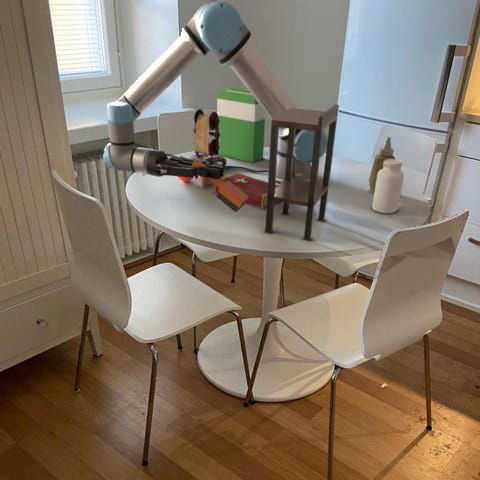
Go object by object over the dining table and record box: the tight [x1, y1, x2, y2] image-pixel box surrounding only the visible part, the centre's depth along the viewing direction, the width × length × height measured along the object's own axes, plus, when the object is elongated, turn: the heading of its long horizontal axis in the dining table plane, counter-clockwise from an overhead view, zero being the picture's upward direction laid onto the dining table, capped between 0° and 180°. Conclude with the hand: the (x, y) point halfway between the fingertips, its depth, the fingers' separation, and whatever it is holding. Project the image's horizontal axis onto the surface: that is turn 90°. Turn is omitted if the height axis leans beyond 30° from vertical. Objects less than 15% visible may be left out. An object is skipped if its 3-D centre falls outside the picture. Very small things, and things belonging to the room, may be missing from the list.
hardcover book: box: [213, 173, 280, 209], centre depth 169 cm, size 12×21×4 cm, turn 49°
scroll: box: [188, 108, 227, 167], centre depth 190 cm, size 15×15×20 cm
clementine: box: [176, 176, 195, 182], centre depth 179 cm, size 8×7×7 cm
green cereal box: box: [216, 87, 266, 163], centre depth 202 cm, size 18×7×24 cm, turn 55°
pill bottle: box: [371, 158, 405, 214], centre depth 158 cm, size 8×8×15 cm
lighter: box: [200, 155, 223, 189], centre depth 175 cm, size 8×3×10 cm, turn 117°
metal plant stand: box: [264, 104, 340, 241], centre depth 141 cm, size 13×17×32 cm
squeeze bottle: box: [368, 136, 396, 194], centre depth 171 cm, size 8×8×18 cm
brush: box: [192, 159, 249, 213], centre depth 152 cm, size 19×6×4 cm
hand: (221, 173), depth 150 cm, fingers closed on brush, 2 cm apart
